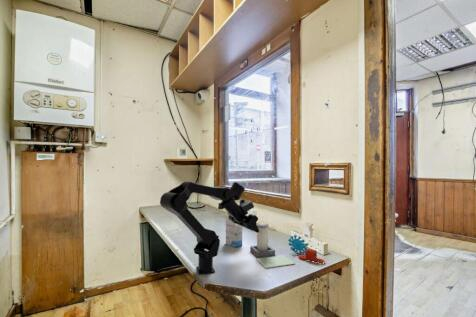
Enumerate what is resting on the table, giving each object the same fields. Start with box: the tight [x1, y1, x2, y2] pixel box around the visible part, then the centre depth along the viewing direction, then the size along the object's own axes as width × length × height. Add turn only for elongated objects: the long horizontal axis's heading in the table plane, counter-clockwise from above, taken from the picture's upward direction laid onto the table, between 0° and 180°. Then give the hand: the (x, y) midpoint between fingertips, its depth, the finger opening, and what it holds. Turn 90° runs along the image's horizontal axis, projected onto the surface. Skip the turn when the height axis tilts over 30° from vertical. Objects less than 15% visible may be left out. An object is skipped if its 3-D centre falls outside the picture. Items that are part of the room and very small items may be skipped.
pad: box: [255, 254, 296, 269], centre depth 104 cm, size 10×14×1 cm
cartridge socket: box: [249, 245, 276, 259], centre depth 114 cm, size 9×9×2 cm
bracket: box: [298, 248, 326, 263], centre depth 106 cm, size 12×4×5 cm, turn 56°
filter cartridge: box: [256, 222, 269, 251], centre depth 114 cm, size 6×6×14 cm
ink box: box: [225, 216, 243, 248], centre depth 127 cm, size 9×5×15 cm, turn 45°
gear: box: [288, 234, 309, 255], centre depth 118 cm, size 11×6×10 cm
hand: (253, 229), depth 112 cm, fingers open, 9 cm apart
